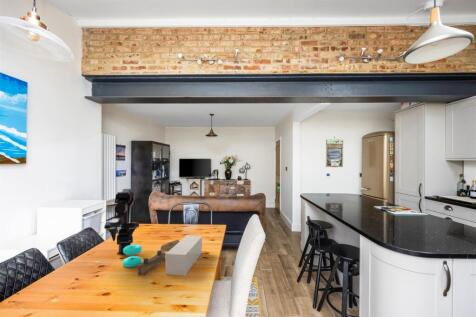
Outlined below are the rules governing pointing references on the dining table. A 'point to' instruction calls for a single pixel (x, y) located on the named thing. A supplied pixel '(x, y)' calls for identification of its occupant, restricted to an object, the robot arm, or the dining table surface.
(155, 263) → the bar
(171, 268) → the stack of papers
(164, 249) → the wooden fragment
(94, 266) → the dining table surface
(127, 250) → the donuts
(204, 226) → the dining table surface
